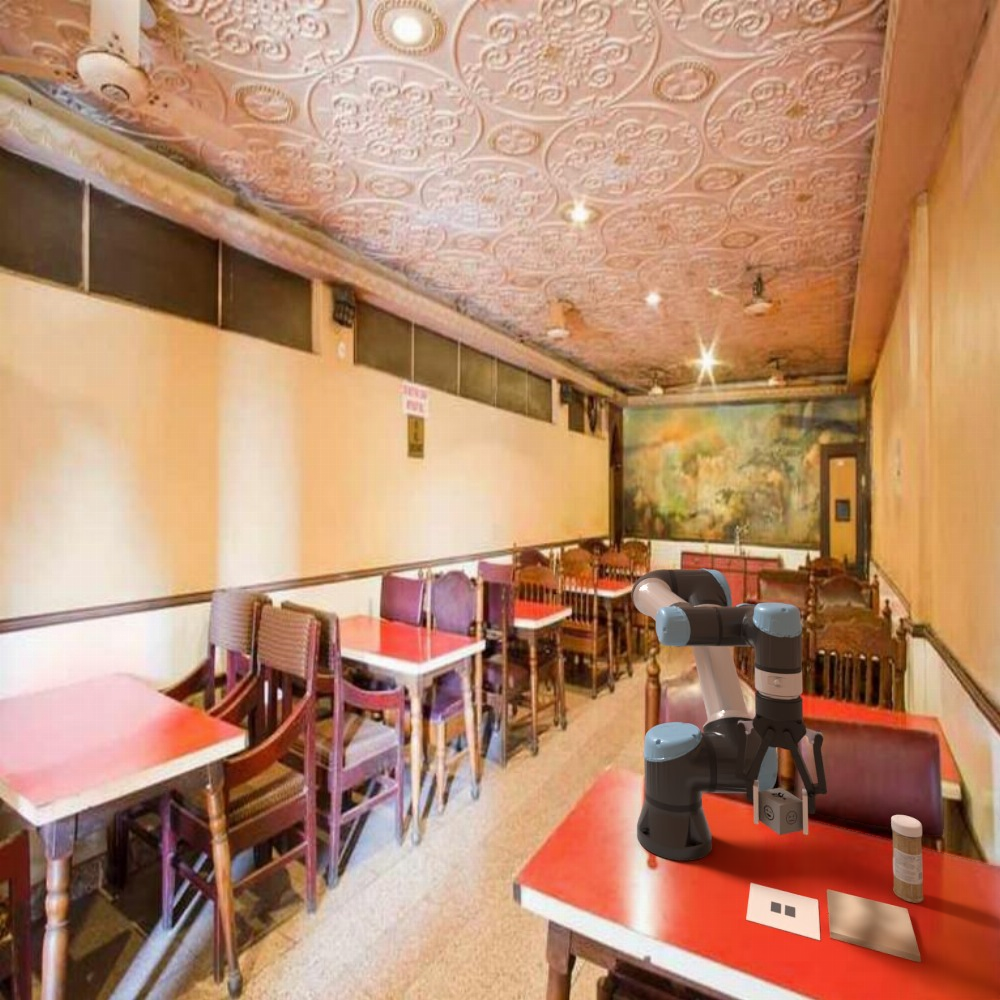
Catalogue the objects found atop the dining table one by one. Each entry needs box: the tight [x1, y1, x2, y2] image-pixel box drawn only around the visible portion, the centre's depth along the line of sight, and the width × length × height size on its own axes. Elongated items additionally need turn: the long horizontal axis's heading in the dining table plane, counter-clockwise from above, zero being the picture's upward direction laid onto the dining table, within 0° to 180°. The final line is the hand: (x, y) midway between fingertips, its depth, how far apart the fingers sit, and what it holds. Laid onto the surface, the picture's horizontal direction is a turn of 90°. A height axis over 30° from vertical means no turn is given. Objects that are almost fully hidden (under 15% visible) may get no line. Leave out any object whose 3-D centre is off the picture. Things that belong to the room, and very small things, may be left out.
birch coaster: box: [826, 888, 922, 963], centre depth 97 cm, size 12×12×1 cm
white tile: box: [745, 882, 821, 941], centre depth 102 cm, size 11×11×1 cm
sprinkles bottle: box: [890, 814, 925, 904], centre depth 105 cm, size 5×5×14 cm
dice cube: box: [758, 787, 803, 836], centre depth 102 cm, size 5×5×5 cm
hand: (780, 825), depth 102 cm, fingers closed on dice cube, 7 cm apart
